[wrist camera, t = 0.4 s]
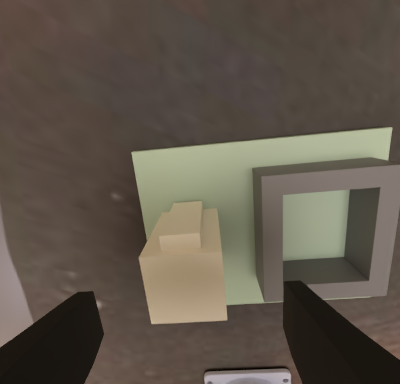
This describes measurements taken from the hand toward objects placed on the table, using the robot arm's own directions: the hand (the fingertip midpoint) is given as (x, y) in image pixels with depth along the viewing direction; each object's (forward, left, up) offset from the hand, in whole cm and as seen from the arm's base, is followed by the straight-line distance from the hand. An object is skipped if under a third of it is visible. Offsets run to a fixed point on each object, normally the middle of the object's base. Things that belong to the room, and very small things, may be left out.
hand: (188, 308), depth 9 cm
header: (-1, -4, -9) cm, 10 cm away
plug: (-1, +1, -9) cm, 9 cm away
